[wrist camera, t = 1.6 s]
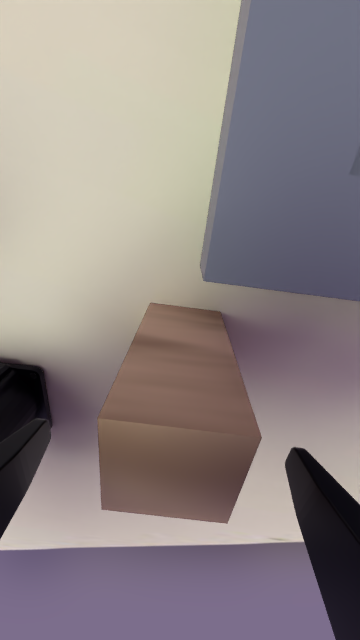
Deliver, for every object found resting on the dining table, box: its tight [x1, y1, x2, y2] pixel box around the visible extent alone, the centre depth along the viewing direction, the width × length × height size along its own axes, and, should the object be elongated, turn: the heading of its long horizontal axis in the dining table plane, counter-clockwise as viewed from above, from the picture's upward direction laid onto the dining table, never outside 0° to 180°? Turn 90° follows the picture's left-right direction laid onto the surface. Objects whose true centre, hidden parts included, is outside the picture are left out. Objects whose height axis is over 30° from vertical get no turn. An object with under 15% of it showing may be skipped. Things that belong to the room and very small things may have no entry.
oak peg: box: [97, 303, 262, 523], centre depth 11 cm, size 4×4×9 cm
